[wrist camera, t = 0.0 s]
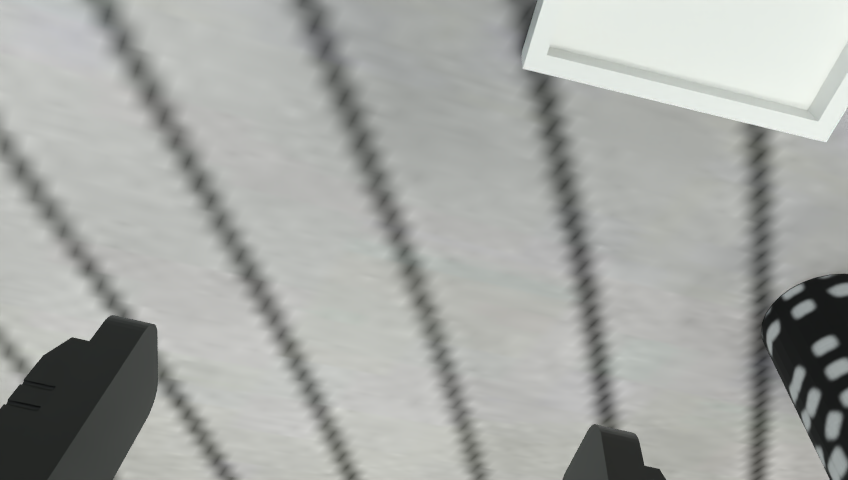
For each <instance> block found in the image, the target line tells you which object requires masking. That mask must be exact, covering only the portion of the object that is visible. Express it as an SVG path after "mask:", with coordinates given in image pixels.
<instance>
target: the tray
mask: <svg viewBox="0 0 848 480" xmlns="http://www.w3.org/2000/svg"><path fill="white" fill-rule="evenodd" d="M521 55H522V66H523V69H526V70H530V71H535V72H539V73H543V74H547V75H551V76H555V77H559V78H563V79H568V80H572V81H576V82H580V83H584V84H588V85H592V86H596V87H600V88H605V89H609V90H613V91H617V92H621V93H625V94H629V95H633V96H637V97H642V98H646V99H650V100H654V101H658V102H662V103H666V104H670V105H674V106H679V107H683V108H687V109H691V110H695V111H699V112H703V113H707V114H711V115H716V116H720V117H724V118H728V119H732V120H736V121H740V122H744V123H748V124H753V125H757V126H761V127H765V128H769V129H773V130H777V131H781V132H785V133H790V134H794V135H798V136H802V137H806V138H810V139H814V140H818V141H822V142H827V140H828V138H829V137H830V135H831V133H832V132H833V130H834V129H835V127H836V125H837V124H838V122H839V120H840V119H841V117H842V116H843V114H844V112H845V111H846V109H847V107H848V0H537V3H536V7H535V10H534V13H533V17H532V20H531V23H530V27H529V30H528V33H527V37H526V40H525V43H524V46H523V50H522V53H521Z"/></svg>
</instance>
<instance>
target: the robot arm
mask: <svg viewBox="0 0 848 480" xmlns="http://www.w3.org/2000/svg"><path fill="white" fill-rule="evenodd" d="M157 386H158V351H157V328H156V325H154V324H150V323H146V322H141V321H137V320H133V319H128V318H124V317H119V316H115V315H112V316H110V317H108V318H107V319H106V320H105V321H104V322H103V324H102V325H101V327H100V328H99V329H98V331H97V332H96V333H95V335H94V336H93V337H92V339H91V340H90V341H86V340H81V339H77V338H70V339H69V340H67V341H66V342H64V343H62V344H61V345H59V346H58V347H56V348H55V349H53V350H51V351H50V352H48V353H47V354H45V355H43V357H42V358H41V359H40V360H39V362H38V363H37V364H36V365H35V366H34V368H33V369H32V370H31V371H30V373H29V374H28V375H27V376H26V378H25V379H24V382H23V384H22V385H21V384H20V385H19V386H18V388H17V389H16V390H15V391H14V393H13V394H12V395H11V396H10V398H9V399H8V402H7V404H6V405H3V406H2V407H1V409H0V480H113V478H114V476H115V474H116V473H117V471H118V469H119V467H120V465H121V464H122V462H123V460H124V458H125V457H126V455H127V453H128V451H129V449H130V448H131V446H132V444H133V442H134V440H135V439H136V437H137V435H138V433H139V432H140V430H141V428H142V426H143V424H144V423H145V421H146V419H147V417H148V415H149V413H150V411H151V408H152V406H153V403H154V400H155V396H156V392H157ZM563 480H666V479H665V477H664V476H663V474H662V473H661V471H660V469H657V468H652V467H647V466H644V462H643V457H642V452H641V448H640V443H639V440H638V437H637V436H636V434H634V433H631V432H627V431H622V430H618V429H613V428H609V427H604V426H600V425H596V424H594V425H592V426H591V427H590V428H589V430H588V431H587V433H586V435H585V437H584V439H583V441H582V443H581V444H580V446H579V448H578V450H577V452H576V454H575V456H574V457H573V459H572V461H571V463H570V465H569V467H568V469H567V470H566V472H565V474H564V477H563Z"/></svg>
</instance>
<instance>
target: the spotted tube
mask: <svg viewBox="0 0 848 480" xmlns="http://www.w3.org/2000/svg"><path fill="white" fill-rule="evenodd" d="M761 332H762V339H763V342H764V344H765V346H766V348H767V350H768V352H769V355H770V357H771V359H772V361H773V363H774V365H775V367H776V369H777V371H778V373H779V375H780V377H781V379H782V381H783V383H784V386H785V388H786V390H787V392H788V394H789V396H790V398H791V400H792V402H793V404H794V406H795V408H796V410H797V412H798V414H799V417H800V419H801V421H802V423H803V425H804V427H805V429H806V431H807V433H808V435H809V437H810V439H811V441H812V443H813V445H814V447H815V450H816V452H817V454H818V456H819V458H820V460H821V462H822V464H823V466H824V468H825V470H826V472H827V474H828V476H829V478H830V480H848V275H846V274H840V275H828V276H824V277H819V278H815V279H812V280H809V281H807V282H804V283H802V284H800V285H798V286H796V287H794V288H792V289H790V290H789V291H788V292H786V293H785V294H784V295H782V296H781V297H780V298H779V299H778V300H777V301H776V302H775V303H774V304H773V305H772V306H771V308H770V309H769V311H768V312H767V313H766V316H765V318H764V321H763V324H762V331H761Z"/></svg>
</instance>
